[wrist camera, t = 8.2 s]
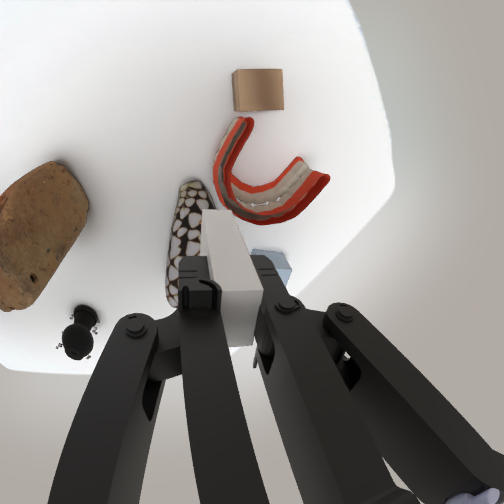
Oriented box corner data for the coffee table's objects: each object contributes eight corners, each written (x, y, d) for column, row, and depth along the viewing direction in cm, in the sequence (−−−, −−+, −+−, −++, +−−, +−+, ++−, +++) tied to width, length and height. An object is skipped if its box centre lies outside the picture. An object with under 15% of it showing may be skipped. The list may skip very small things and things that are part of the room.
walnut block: (234, 110, 31) (240, 111, 27) (231, 74, 29) (237, 69, 24) (272, 108, 32) (283, 109, 28) (270, 73, 29) (282, 69, 25)
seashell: (253, 258, 44) (268, 300, 35) (186, 295, 45) (188, 340, 37) (196, 172, 35) (197, 198, 26) (123, 223, 36) (105, 260, 28)
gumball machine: (71, 321, 43) (58, 361, 34) (68, 298, 40) (51, 339, 32) (102, 328, 45) (92, 369, 37) (101, 305, 42) (88, 348, 34)
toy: (191, 176, 35) (190, 196, 28) (234, 111, 31) (246, 114, 25) (265, 219, 40) (281, 246, 34) (307, 162, 37) (333, 178, 30)
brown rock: (98, 215, 34) (42, 311, 18) (62, 233, 34) (3, 326, 18) (67, 149, 28) (-25, 205, 12) (31, 173, 28) (-55, 240, 12)
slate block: (245, 275, 45) (251, 294, 41) (252, 248, 43) (259, 266, 38) (273, 277, 46) (281, 296, 42) (282, 252, 44) (292, 270, 40)
